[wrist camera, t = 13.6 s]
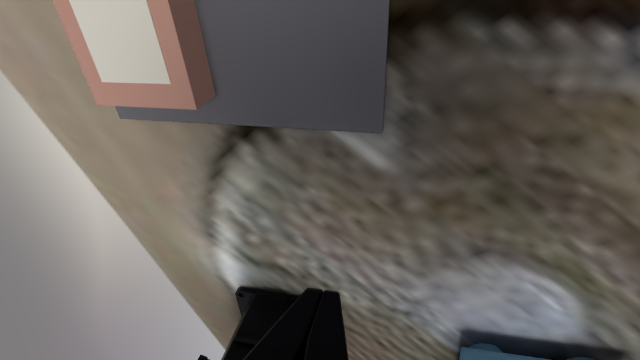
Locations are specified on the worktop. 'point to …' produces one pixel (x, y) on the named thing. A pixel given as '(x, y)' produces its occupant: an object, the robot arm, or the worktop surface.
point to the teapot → (496, 354)
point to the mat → (290, 65)
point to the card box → (139, 51)
